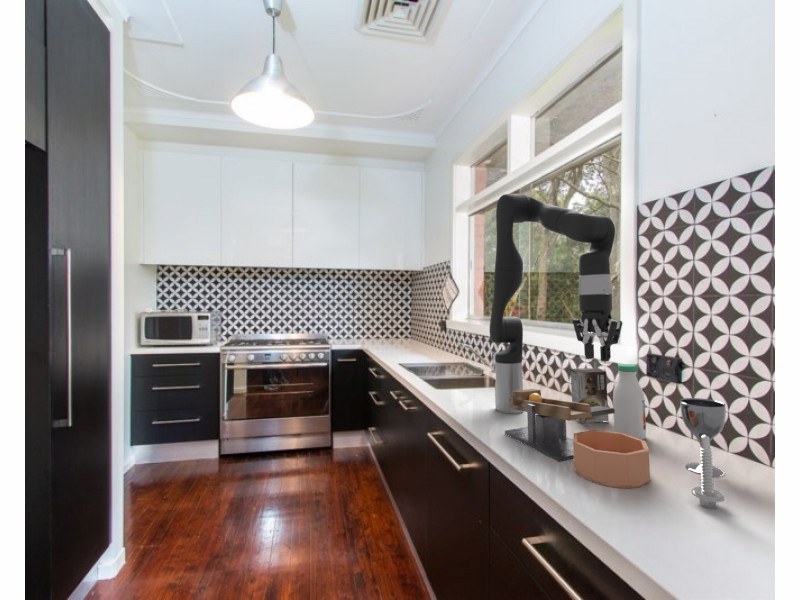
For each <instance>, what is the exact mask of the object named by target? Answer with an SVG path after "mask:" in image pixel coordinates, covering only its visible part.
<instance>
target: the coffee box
mask: <svg viewBox="0 0 800 600" xmlns="http://www.w3.org/2000/svg"><path fill="white" fill-rule="evenodd" d="M570 382H571V383H570V386H571V388H570V389H571V402H576V403H584V404H590V407H595V406H602V407H609V404H608V402H609V401H608V386H607V385H608V383H607V371H605V370H604V369H602V368H599V367H593V368H592V367H591V368H589V367H588V368H587V367H586V368H584V367H583V368H570ZM609 420H610V419H609V414H607V415H601V416H594V417H588V418H582V419H576V420H575V421H576V422H578V423H581V424H582V423H583V424H584V423H585V424H587V423H589V424H590V423H592V424H593V423H594V422H600V423H604V422H603V421H609ZM609 422H610V421H609ZM594 424H595V423H594Z"/></svg>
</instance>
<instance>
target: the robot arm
mask: <svg viewBox="0 0 800 600" xmlns="http://www.w3.org/2000/svg"><path fill="white" fill-rule="evenodd" d="M495 209H496V210H495V220H496V221H495V224H496V247H495V248H496V249H495V251H496V252H495V262H494V263H495V265H494V274H493V275H494V279H493V299H492V307H491V313H490V319H489V320H490V321H489V322H490V323H489V337H490V340H491V342H492V343H493V344H494V343H496V344H508V346H507V347H506V348H505V349H503V350H501V351H499V352H497V353H495V355H494V362H495V369H494V370H495V381H494V390H495V391H494V396H495V398H494V399H495V401H494V402H495V409H496V411H498V412H500V413H504V414H521V413H523V412H524V411H519V410H514V409H510V407H509V398H512V391H518V390H524V382H523V378H524V377H523V375H524V374H523V352H524V351H523V346H524V345H523V344H524V343H523V341H524V340H523V338H524V334H523V333H524V326H523V321H522V320H521V318H520V317H518V316H504V314H505V311H506V308H507V306H508V303H509V302H510V301H511V300H512V298H513V296H514V295H515V294H516V293H517V291H518V290H519V288H520V286H522V285H521V284H522V281H523V274H524V260H523V258H522V257H523V256H522V255H521V253H520V252H519V249H518V247H517V246H516V242H515V240H514V224H518V223H519V224H521V223H525V222H527V223H529V222H531V223H539V224H541V226H542V227H543V228H545V229H546V230H547V231H550V232H553V233H556V234H560V235H564V236H565V237H567V238H569V239H571V240H573V241H575V242H579V243H584V244H585V243H586V244H588V243H589V244H590V245H589V250H588V251H587V252H584V253H582V254H580V256H579V258H578V271H579V273H578V274H579V280H578V303H579V304H578V305H579V311H580V312H581V317H580V318H578V319H573V320H572V325H573V329H574V332H575V336H576V339H577V341H578V342H582V343H583V347H584V349H583V350H584V356H585V359H586V360H590V359H591V360H593V359H594V358H595V347H594V345H595V344H594V341H595V337H597V338H598V340H599V342H600V343H599V344H600V347H599V353H600V361H601V362H609V361H611V357H612V356H611V346H613V345H617V344H618V343H619V339H620V335H621V333H622V328H623V321H622V320H616V319H613V317H612V315H611V313H612V310H613V291H612V288H613V287H612V280H611V269H610V268H611V266H610V256H611V254H612V250H613V246H614V242H615V235H616V228H615V224H614V222H613V220H612V219H611V218H610V217H609V216H606V215H596V214H585V213H580V212H579V211H576V210H575V209H571V208H566V207H563V206H556V205H552V204H548V203H545V202H543V201H540V199H539V200H538V199H537V198H534V197H533V196H530V195H529V194H525V193H506V194H505V193H504V194H502V195H501V196H500V197H499V198H498V200H497V203H496V208H495Z"/></svg>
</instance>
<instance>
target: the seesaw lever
mask: <svg viewBox="0 0 800 600" xmlns="http://www.w3.org/2000/svg"><path fill="white" fill-rule="evenodd" d="M532 393H538V394H539V395H540V396H541V397H542V391H541V389H535V388H527V389H523V390H518V391H512V398H509V407H510V409H514V410H519V411H523V412H524V413H525V412H526V413H527V404H532V405H535V415H538V414H539V415H544V416H549V417H554V418H559V419H563V420H566V421H574V420H575V421H577V420H576V419H582V418H588V417H594V416H601V415H607V414H608V415H613V413H615V410H614V408H613V407H609V406H608V407H602V406H595V407H590V404H584V403H576V402H572V401H568V400H563V401H562V399H555V398H554V399H553V398H547V397H542V403H539V402H533V401H529V396H530V395H531V394H532Z"/></svg>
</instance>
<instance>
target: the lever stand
mask: <svg viewBox="0 0 800 600" xmlns="http://www.w3.org/2000/svg"><path fill="white" fill-rule="evenodd" d="M561 400H562V399H561ZM562 401H564V400H562ZM526 413H527V426H524V427H518V428H512V429H507V430H506V429H505V430H504V435H506V434H507V435H506V436H508V435H509V436H508V437H510V436H511V437H510V438H512V439H514V440H515V441H517V440H518V441H517V442H519V441H520V443H521V442H522V443H521V444H524V445H525V446H527V447H529V448H530V449H533V450H535V451H537V452H538V453H541V454H542V455H545V456H547V457H548V458H550V459H552V460H554V461H556V462H558V463H563V462H567V461H571V460H574V451H573V438H570V437H567V420H563V419H559V418H554V417H549V416H544V415H539V414H535V405H532V404H527V412H526Z"/></svg>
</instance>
